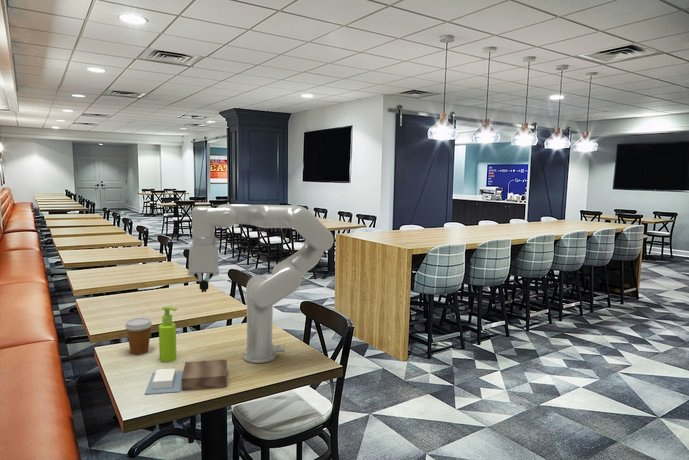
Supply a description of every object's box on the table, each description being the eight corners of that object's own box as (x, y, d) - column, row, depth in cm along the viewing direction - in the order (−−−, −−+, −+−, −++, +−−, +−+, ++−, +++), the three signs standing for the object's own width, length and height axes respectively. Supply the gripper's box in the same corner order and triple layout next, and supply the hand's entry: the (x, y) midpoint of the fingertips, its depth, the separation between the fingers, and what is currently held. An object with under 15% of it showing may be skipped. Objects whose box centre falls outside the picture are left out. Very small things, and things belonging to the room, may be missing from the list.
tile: (156, 369, 161) (157, 376, 162) (152, 381, 153) (152, 389, 153) (175, 368, 163) (175, 375, 163) (172, 380, 154) (172, 387, 154)
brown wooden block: (226, 370, 169) (226, 359, 168) (226, 387, 156) (226, 375, 156) (185, 372, 166) (185, 362, 165) (181, 390, 153) (181, 378, 153)
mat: (184, 371, 167) (184, 370, 167) (179, 392, 152) (179, 391, 152) (152, 373, 164) (152, 373, 164) (144, 394, 150) (144, 393, 150)
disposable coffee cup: (148, 356, 178) (147, 325, 177) (122, 356, 178) (120, 325, 176) (156, 346, 188) (155, 317, 186) (131, 346, 187) (130, 317, 185)
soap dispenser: (173, 363, 173) (172, 310, 170) (156, 361, 175) (155, 308, 172) (182, 356, 179) (181, 305, 176) (165, 354, 180) (164, 304, 177)
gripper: (225, 239, 174) (225, 287, 176) (182, 239, 170) (183, 289, 173) (224, 242, 166) (225, 293, 169) (180, 243, 163) (181, 294, 166)
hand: (204, 291), depth 171 cm, fingers closed
